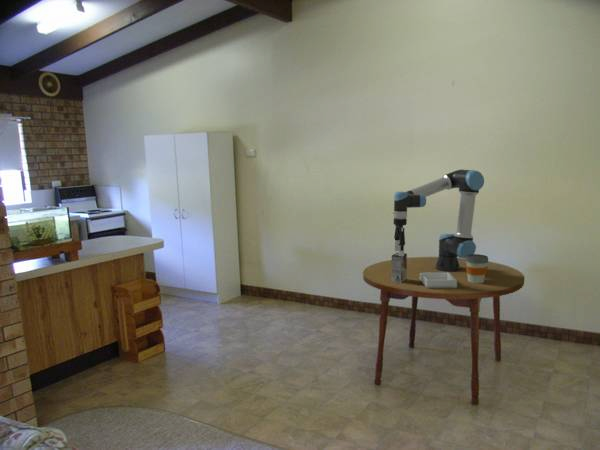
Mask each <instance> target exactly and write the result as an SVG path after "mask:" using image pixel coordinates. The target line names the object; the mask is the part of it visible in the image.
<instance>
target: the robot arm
mask: <svg viewBox="0 0 600 450" xmlns="http://www.w3.org/2000/svg"><path fill="white" fill-rule="evenodd" d="M484 184H485V177H484V175H483V174H482V173H481V172H480V171H478V170H474V169H457V170H453V171H452V172H448V173H447V174H444V175H442V176H441V177H440V178H438V179H435V180H433V181H430V182H428V183H425V184H423V185H420V186H418V187H414V188H412V189H410V190H407V191H395V193H394V197H393V198H394V199H393V200H394V201H393V202H394V203H393V212H392V214H393V225H394V226H395V229H394V236H393V238H394V252H398V253H399V256H404V253H405V245H406V239H405V238H406V236H405V227H404V226H406V225H407V222H408V220H407V219H408V209H410V208H423V207H426V204H427V197H429V196H431V195H434V194H437V193H440V192H442V191H444V190H452V189H458V192H459V193H460V201H459V209H458V218H457V226H456V232H455V233H443V234H440V235H439V239H438V243H439V244H438V257H437V260H436V263H435V269H436V270H438V271H443V272H456V271H460V267H461V265H460V262H459V259H465V260H466V256H467V255H470V254H476V250H477V245H476V243H475V242H474V236H473V235H472V228H473V221H474V212H475V205H476V196H477V195H478V194H479V191H480V190H481V189H482V188H483V187H484Z"/></svg>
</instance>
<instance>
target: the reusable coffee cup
mask: <svg viewBox="0 0 600 450" xmlns="http://www.w3.org/2000/svg"><path fill="white" fill-rule="evenodd" d="M465 263H466V265H465V270H466V271H465V272H466V275H467V281H468V282H469V283H473V284H483V283H484V282H485V278H486V275H487V272H488V267H489V266H488V263H489V257H488V256H487V255H484V254H479V253H474V254H470V255H467V256H466V259H465Z"/></svg>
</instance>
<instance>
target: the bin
mask: <svg viewBox="0 0 600 450" xmlns="http://www.w3.org/2000/svg"><path fill="white" fill-rule="evenodd" d="M419 281H420V282H421V284H423V286H424V288H426V289H457V288H458V279H456V277H454V276H453V275H452V274H451V273H450V272H449V271H444V272H419Z"/></svg>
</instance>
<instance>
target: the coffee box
mask: <svg viewBox="0 0 600 450" xmlns="http://www.w3.org/2000/svg"><path fill="white" fill-rule="evenodd" d="M407 261H408V254H407V253H405V252H404V256H399V252H396V253H394V254H392V255H391V277H390V278H391V282H393V283H398V284H399V283H403V282H404V281H405V280H407V271H408V270H407V268H408V267H407V266H408V265H407Z"/></svg>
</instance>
